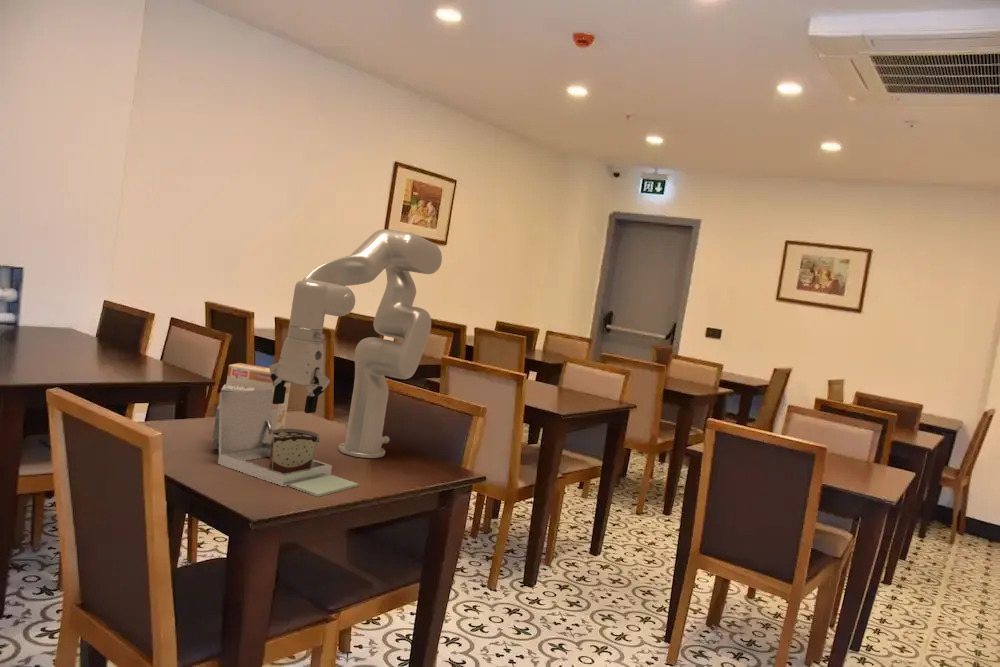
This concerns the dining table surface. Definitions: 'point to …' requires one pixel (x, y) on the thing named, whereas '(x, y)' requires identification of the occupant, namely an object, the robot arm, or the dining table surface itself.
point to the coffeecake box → (259, 387)
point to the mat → (324, 485)
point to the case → (254, 437)
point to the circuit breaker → (216, 428)
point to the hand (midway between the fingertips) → (293, 408)
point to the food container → (292, 449)
